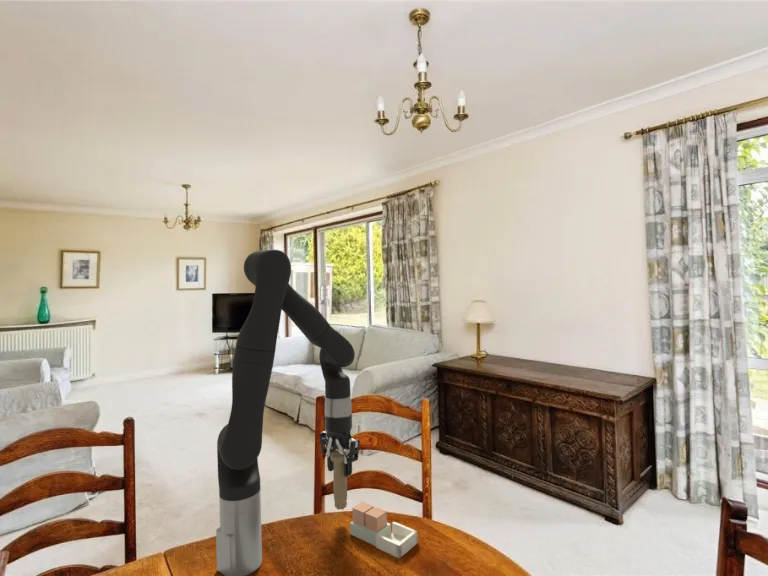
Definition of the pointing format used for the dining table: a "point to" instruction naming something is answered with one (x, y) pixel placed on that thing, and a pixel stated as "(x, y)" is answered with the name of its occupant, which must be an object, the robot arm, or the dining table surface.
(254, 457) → the robot arm
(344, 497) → the handle
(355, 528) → the pale green flat block
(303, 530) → the dining table surface
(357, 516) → the pink cube
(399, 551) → the tray
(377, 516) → the salmon cube
